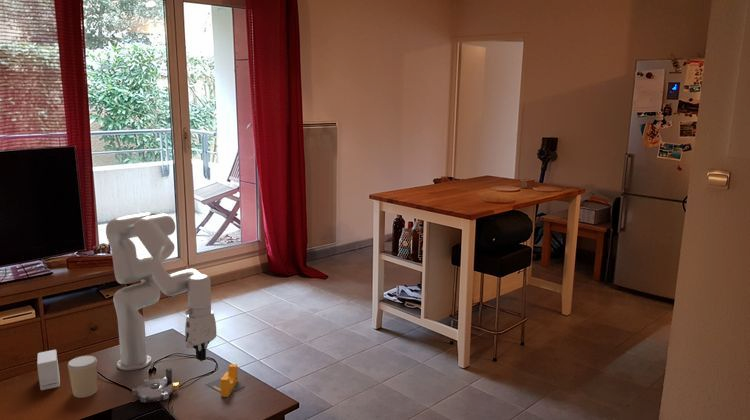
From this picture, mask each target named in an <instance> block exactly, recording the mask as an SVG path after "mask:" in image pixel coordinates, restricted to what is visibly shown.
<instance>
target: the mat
mask: <svg viewBox="0 0 750 420" xmlns="http://www.w3.org/2000/svg"><path fill="white" fill-rule="evenodd" d="M221 378H222V377H220V378H217V379H216V380H213V381H211V382H210V381H209V382H208V383H206V384H205V385H206V386H208V387H210V388H212V389H214V390H215V391H218V392H219V393H221V384H220V379H221ZM243 388H245V386H244V385H242V384H241V383H239V382H237V383H236V384H235V386H234V388H233V389H232V391H231V393H230V394H232V393H234V392H236V391H238V390H241V389H243Z"/></svg>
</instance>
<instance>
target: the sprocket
mask: <svg viewBox="0 0 750 420" xmlns="http://www.w3.org/2000/svg"><path fill="white" fill-rule="evenodd" d="M179 386H180V385H179V382H178V381H177V382H173V370H172V368H170V367H169V368H166V369H165V376H164V377H162V378H153V379H150V380H149V379H148V378H146V379H144V380H142V382H141V383H140V384H139V385H138V386H137V387H135V388H132V389H131V393H132V394H131V395H132V397H134V396H137V398H138V399H140V403H147V402H146V401H148V400H158V399H163V400H162V401H165V400H167V399H169V398H170V396H171V394H172V393H173V392H175V391H179V390H180V387H179ZM169 395H170V396H169Z"/></svg>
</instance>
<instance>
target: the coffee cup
mask: <svg viewBox="0 0 750 420" xmlns="http://www.w3.org/2000/svg"><path fill="white" fill-rule="evenodd" d="M67 368H68V374H69V380H70V385H71V391H72V395H73V397H75V398H87V397H88V398H89V397H91V396H93V395H94V394H95V393H97V391H98V359H97V357H95V356H93V355H81V356H76V357H74V358H72V359H71V360H69V361H68V363H67Z"/></svg>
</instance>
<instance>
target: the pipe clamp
mask: <svg viewBox="0 0 750 420" xmlns="http://www.w3.org/2000/svg"><path fill="white" fill-rule="evenodd" d="M238 371H239V370H238V364H237V363H236V364H235V363H230V364H229V365H228V371H226V372H224V374H223V376H222V377H220V378H221V379H220V384H221V392H220V397H224V398H226V397H230V394H232V393H231V391H232V389H233V388H234V386H235V384H236V383H238V380H239V378H238V377H239V376H238Z"/></svg>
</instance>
